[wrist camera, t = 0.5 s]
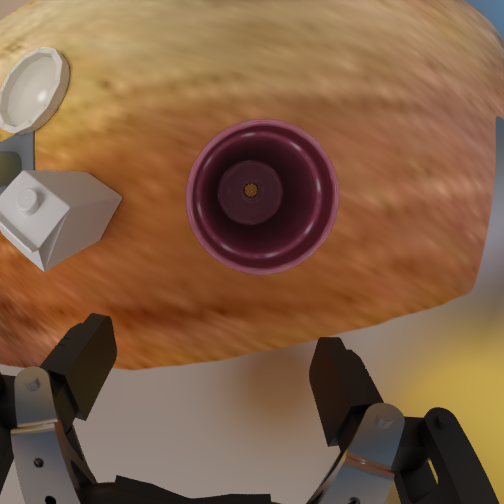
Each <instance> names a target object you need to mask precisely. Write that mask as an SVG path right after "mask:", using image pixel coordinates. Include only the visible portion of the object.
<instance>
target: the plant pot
mask: <svg viewBox="0 0 504 504" xmlns="http://www.w3.org/2000/svg"><path fill="white" fill-rule="evenodd" d="M248 183H254V184H256V186H257V187H258V193H257V194H256V195H255V196H254V197H248V196H247V195H246V194H245V192H244V187H245V186H246V185H247V184H248ZM338 204H339V186H338V180H337V175H336V172H335V169H334V167H333V164H332V162H331V160H330V158H329V156H328V155H327V153H326V152H325V150H324V149H323V148H322V146H321V145H320V144H319V143H318V142H317V141H316V140H315V139H314V138H313V137H312V136H311V135H309V134H308V133H307V132H305V131H304V130H302V129H300V128H299V127H297V126H294V125H292V124H290V123H287V122H284V121H280V120H274V119H254V120H248V121H244V122H241V123H238V124H235V125H233V126H231V127H229V128H227V129H225V130H224V131H222V132H220V133H219V134H218V135H216V136H215V137H214V138H213V139H212V140H211V141H209V142H208V144H207V145H206V146H205V147H204V148H203V150H202V151H201V152H200V154H199V155H198V157H197V158H196V160H195V162H194V164H193V166H192V169H191V171H190V174H189V178H188V182H187V187H186V210H187V215H188V219H189V223H190V225H191V228H192V230H193V232H194V234H195V236H196V238H197V240H198V241H199V243H200V244H201V245H202V247H203V248H204V249H205V250H206V251H207V252H208V253H209V254H210V255H211V256H212V257H214V258H215V259H216V260H218V261H219V262H221V263H222V264H224V265H226V266H228V267H230V268H232V269H234V270H237V271H240V272H244V273H249V274H257V275H265V274H274V273H278V272H282V271H285V270H288V269H290V268H293V267H295V266H297V265H298V264H300V263H302V262H303V261H305V260H306V259H307V258H309V257H310V256H311V255H312V254H313V253H314V252H315V251H316V250H317V249H318V248H319V247H320V246H321V245H322V243H323V242H324V241H325V239H326V238H327V236H328V234H329V232H330V231H331V228H332V226H333V224H334V221H335V218H336V215H337V210H338Z"/></svg>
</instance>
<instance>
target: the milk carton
mask: <svg viewBox="0 0 504 504" xmlns="http://www.w3.org/2000/svg"><path fill="white" fill-rule="evenodd" d="M122 198H123V197H122V196H121V195H119V194H118V193H116V192H115V191H114V190H112V189H111V188H109V187H108V186H106V185H105V184H103V183H102V182H101V181H99V180H98V179H96V178H95V177H93V176H92V175H91V174H89V173H88V172H77V171H49V170H24V171H22V172H21V173H20V174H19V175H18V176H17V177H16V178H15V179H14V180H13V181H12V183H11V184H10V185H9V186H8V187H7V188H6V189H5V191H4V192H3V193H2V194H1V195H0V230H1V233H2V234H3V235H4V236H5V237H6V238H7V239H8V240H9V241H10V242H11V243H12V244H13V245H14V246H16V247H17V248H18V249H19V250H20V251H21V252H22V253H23V254H24V255H25V256H26V257H28V258H29V259H30V260H31V261H32V262H33V263H34V264H36V265H37V266H38V267H39V268H40V269H41V270H43V271H44V272H45V271H47V270H48V269H50V268H52V267H53V266H55V265H57V264H59V263H60V262H62V261H64V260H65V259H67V258H69V257H71V256H72V255H74V254H76V253H78V252H79V251H81V250H83V249H85V248H87V247H88V246H90V245H92V244H94V243H96V242H98V241H99V240H100V239H101V237H102V235H103V233H104V231H105V229H106V227H107V226H108V224H109V222H110V220H111V218H112V216H113V214H114V212H115V211H116V209H117V207H118V205H119V203H120V202H121V200H122Z"/></svg>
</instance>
